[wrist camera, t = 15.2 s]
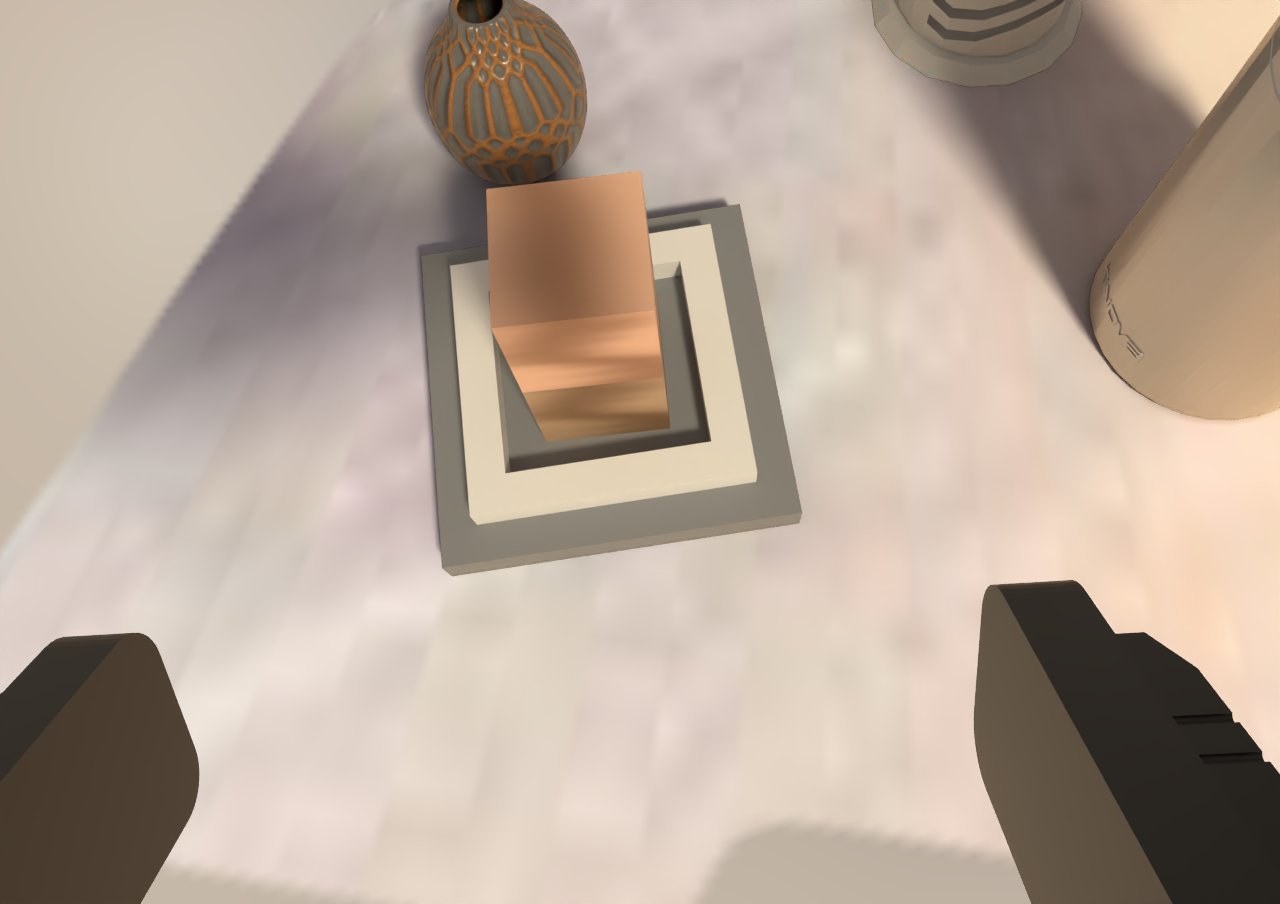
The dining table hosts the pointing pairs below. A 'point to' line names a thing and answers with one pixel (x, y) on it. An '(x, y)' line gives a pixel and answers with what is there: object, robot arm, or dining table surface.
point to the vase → (505, 90)
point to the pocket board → (622, 463)
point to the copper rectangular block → (578, 304)
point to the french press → (977, 36)
